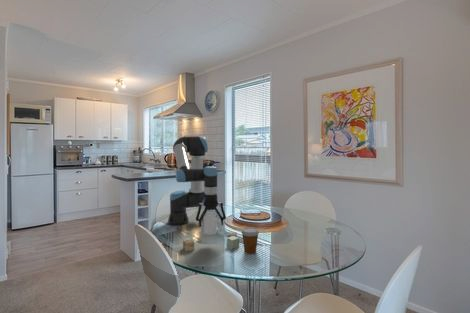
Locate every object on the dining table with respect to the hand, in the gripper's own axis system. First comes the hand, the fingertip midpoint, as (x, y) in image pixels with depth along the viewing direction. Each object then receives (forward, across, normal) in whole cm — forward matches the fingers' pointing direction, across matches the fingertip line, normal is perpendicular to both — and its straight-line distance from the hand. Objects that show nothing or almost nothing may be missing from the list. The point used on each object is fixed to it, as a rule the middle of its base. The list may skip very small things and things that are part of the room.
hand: (211, 231), depth 156 cm
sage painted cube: (+8, +12, -4) cm, 15 cm away
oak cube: (+8, -13, -4) cm, 16 cm away
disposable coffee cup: (+8, +20, -14) cm, 25 cm away
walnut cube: (+8, +13, +2) cm, 16 cm away
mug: (+1, +1, 0) cm, 1 cm away
